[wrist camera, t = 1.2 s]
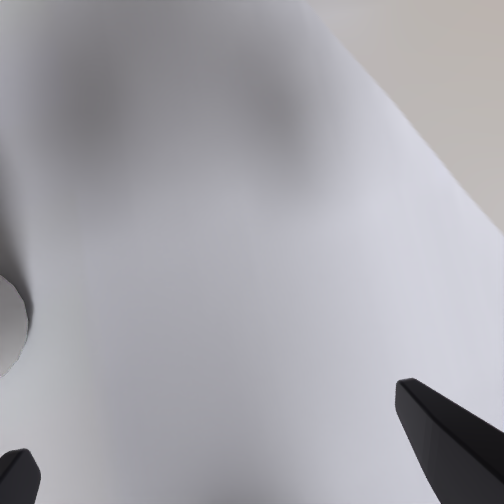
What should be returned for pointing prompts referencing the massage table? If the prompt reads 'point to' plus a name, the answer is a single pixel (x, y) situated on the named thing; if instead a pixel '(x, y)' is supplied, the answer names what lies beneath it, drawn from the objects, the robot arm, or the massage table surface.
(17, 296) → the can
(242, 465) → the massage table surface
